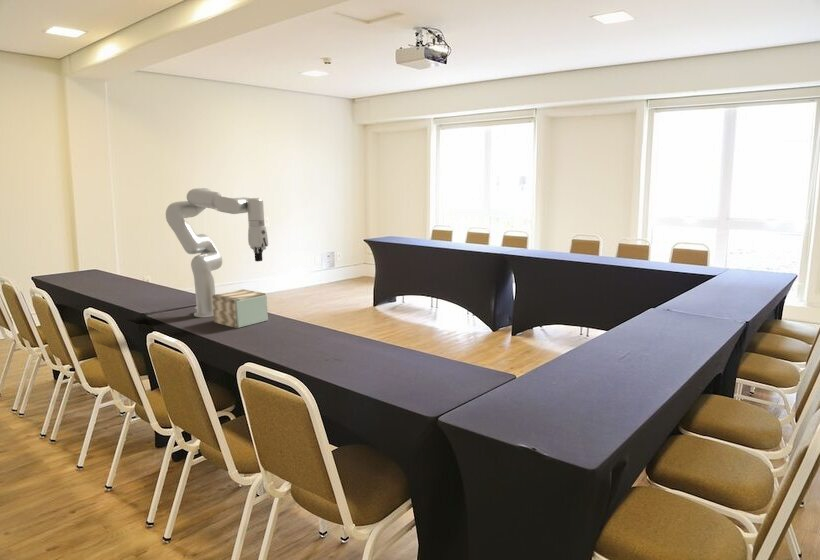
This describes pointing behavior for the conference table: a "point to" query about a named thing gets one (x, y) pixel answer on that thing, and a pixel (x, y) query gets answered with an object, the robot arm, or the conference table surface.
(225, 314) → the beige brown striped box
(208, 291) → the robot arm
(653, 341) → the conference table surface
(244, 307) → the mint green drawer
